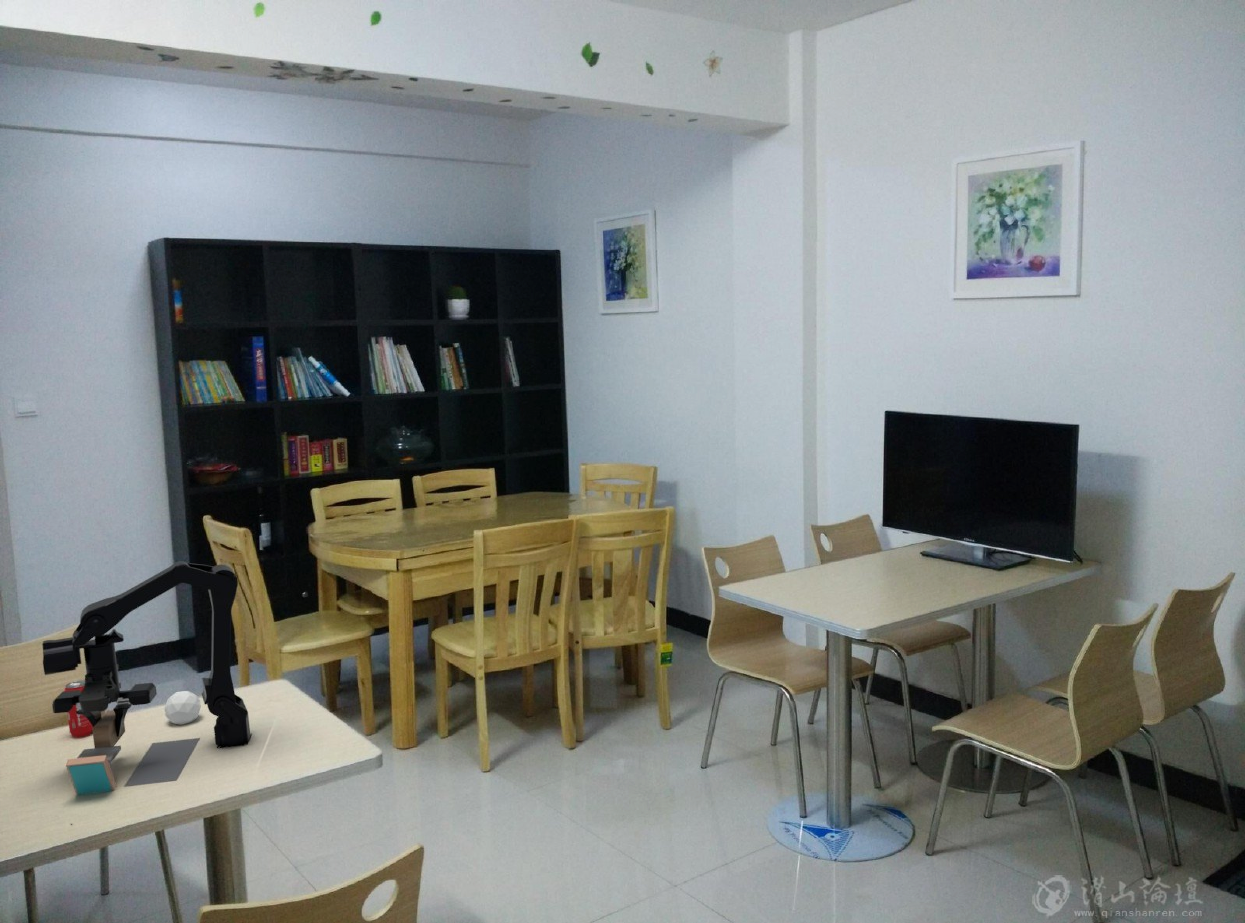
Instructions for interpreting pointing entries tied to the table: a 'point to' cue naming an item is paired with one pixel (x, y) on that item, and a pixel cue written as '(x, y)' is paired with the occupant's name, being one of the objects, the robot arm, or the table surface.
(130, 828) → the table surface
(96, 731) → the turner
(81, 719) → the beverage can
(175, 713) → the geometric ball
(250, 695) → the table surface
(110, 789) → the tile
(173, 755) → the grey rectangular plate
